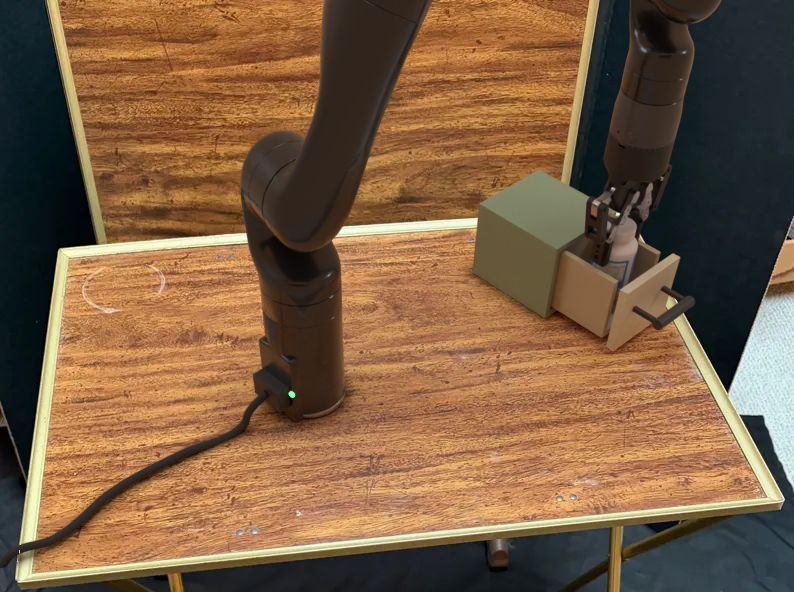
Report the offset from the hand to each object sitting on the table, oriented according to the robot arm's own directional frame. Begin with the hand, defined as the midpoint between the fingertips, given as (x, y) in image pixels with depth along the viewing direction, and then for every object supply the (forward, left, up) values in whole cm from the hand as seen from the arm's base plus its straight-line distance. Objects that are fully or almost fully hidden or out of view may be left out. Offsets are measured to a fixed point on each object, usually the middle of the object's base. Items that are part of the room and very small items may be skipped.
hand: (614, 252), depth 124 cm
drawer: (0, -3, -9) cm, 10 cm away
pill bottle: (0, 0, -6) cm, 6 cm away
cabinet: (0, +11, -10) cm, 15 cm away
